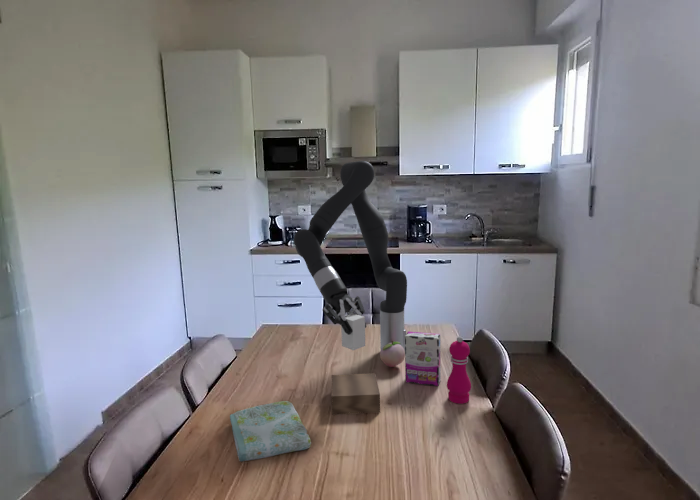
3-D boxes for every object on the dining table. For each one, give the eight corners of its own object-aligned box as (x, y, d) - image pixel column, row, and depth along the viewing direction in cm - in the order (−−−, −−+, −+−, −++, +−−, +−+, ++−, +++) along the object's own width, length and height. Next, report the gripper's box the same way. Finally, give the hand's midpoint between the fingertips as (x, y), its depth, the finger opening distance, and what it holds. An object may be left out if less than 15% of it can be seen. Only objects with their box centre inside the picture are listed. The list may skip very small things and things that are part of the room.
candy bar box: (440, 380, 150) (441, 333, 148) (438, 386, 146) (439, 338, 143) (407, 376, 154) (407, 330, 151) (404, 382, 149) (404, 335, 146)
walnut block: (375, 390, 145) (375, 373, 144) (380, 413, 131) (379, 394, 130) (332, 392, 144) (331, 375, 143) (332, 415, 130) (331, 396, 129)
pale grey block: (353, 341, 138) (353, 313, 136) (365, 345, 134) (364, 316, 133) (341, 345, 135) (341, 317, 133) (353, 350, 131) (352, 320, 130)
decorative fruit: (396, 375, 155) (396, 347, 153) (376, 369, 160) (376, 342, 158) (409, 365, 162) (409, 339, 160) (390, 360, 167) (390, 334, 165)
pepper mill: (468, 393, 141) (470, 332, 137) (472, 405, 134) (474, 341, 130) (445, 392, 141) (446, 332, 138) (448, 404, 134) (448, 340, 131)
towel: (292, 411, 133) (291, 395, 133) (312, 451, 114) (311, 433, 113) (229, 424, 127) (228, 407, 126) (238, 469, 107) (237, 450, 107)
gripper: (317, 281, 132) (345, 330, 125) (352, 273, 141) (380, 318, 135) (306, 295, 137) (333, 343, 130) (341, 287, 146) (368, 331, 139)
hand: (357, 330), depth 132 cm, fingers closed on pale grey block, 5 cm apart
